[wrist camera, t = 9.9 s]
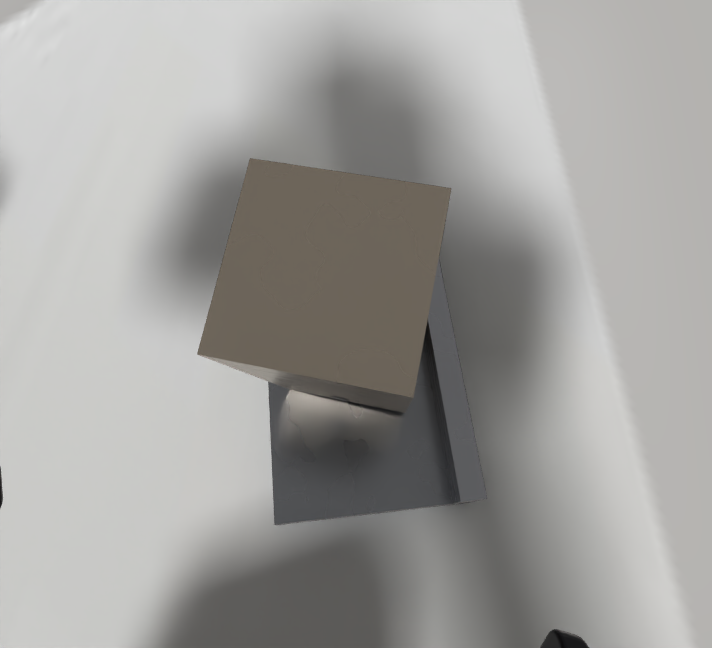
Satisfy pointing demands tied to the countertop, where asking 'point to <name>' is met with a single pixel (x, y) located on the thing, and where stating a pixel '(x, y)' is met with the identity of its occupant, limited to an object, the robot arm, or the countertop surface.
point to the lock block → (328, 282)
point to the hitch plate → (378, 442)
